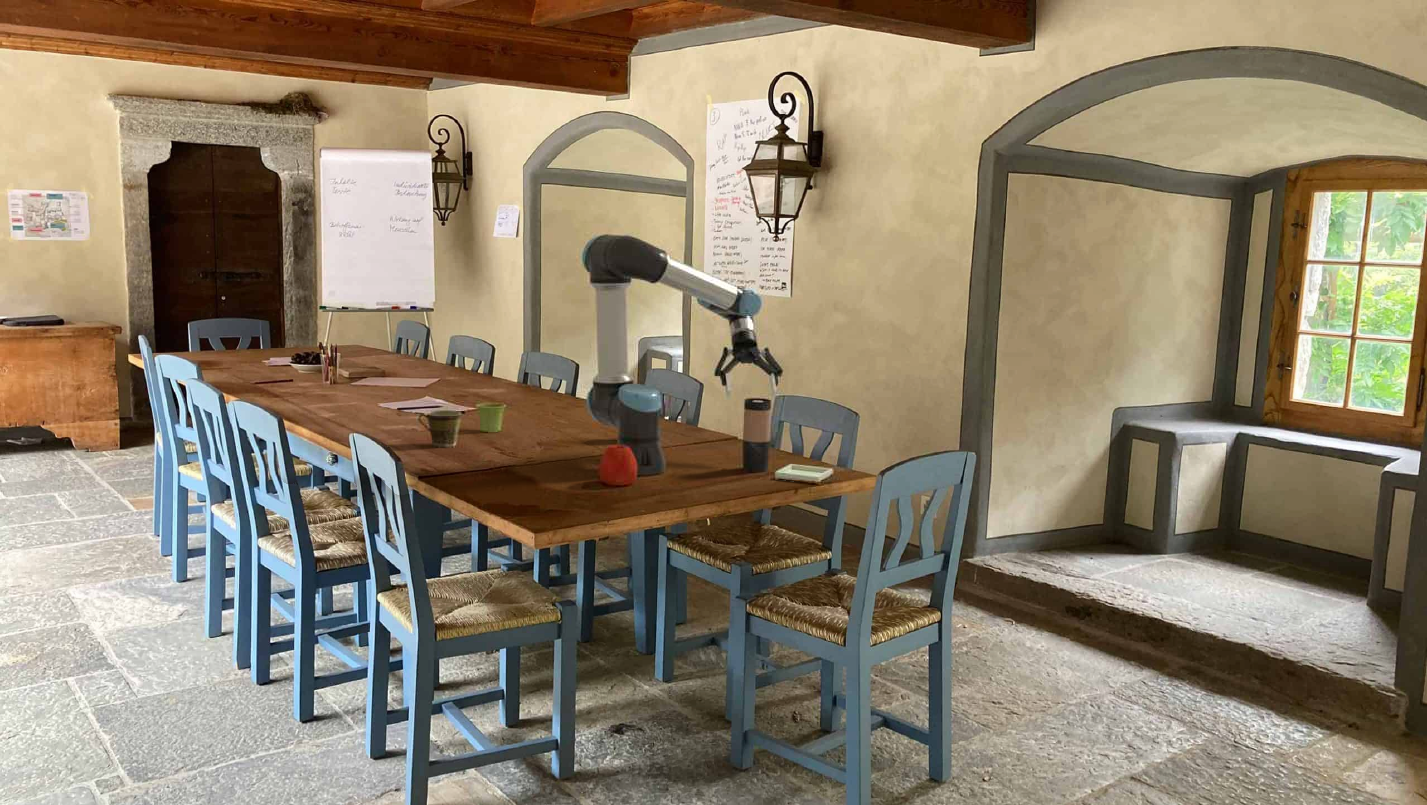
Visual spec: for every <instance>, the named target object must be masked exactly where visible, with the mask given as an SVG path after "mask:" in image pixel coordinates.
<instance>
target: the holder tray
mask: <svg viewBox="0 0 1427 805" xmlns="http://www.w3.org/2000/svg"><path fill="white" fill-rule="evenodd" d="M831 474H833V475H834V468H830V467H829V468H828V467H820V466H811V465H802V464H795V463H794V464H793V463H790V464H788V465H786V466H784V467H782V468H780V469H778V470H776V471H775V472H774V479H775V478H781V479H792V480H804V481H815V482H820V481H821V480H823V479H825V478H827V477H829V476H830V475H831Z"/></svg>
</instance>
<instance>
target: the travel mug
mask: <svg viewBox="0 0 1427 805" xmlns="http://www.w3.org/2000/svg"><path fill="white" fill-rule="evenodd" d="M743 405H744V406H743V428H742V430H743V431H742V439H743V440H742V470H743V469H744V470H743V471H745V470H747V471H746V472H748V471H752V472H751V473H762V472H761V471H765V472H767V471H766V470H768V471H769V461H770V459H769V458H770V446H771V445H770V444H771V422H772V421H771V420H772V419H771V415H772V414H771V413H772V400H771V399H769V398H761V397H755V398H754V397H751V398H750V397H749V398H745V399H744V403H743Z"/></svg>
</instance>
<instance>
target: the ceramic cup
mask: <svg viewBox="0 0 1427 805" xmlns="http://www.w3.org/2000/svg"><path fill="white" fill-rule="evenodd" d="M421 417H425V419H427V421H428V425H429V426H427V425H426V424H425V423H424V422H422V420H421ZM461 420H462V412H460V411H457V410H456V411H455V410H434V411H429V412H427V413H426V414H425V413H423V414H420V415H419V416H418V421H419V423H420V424H421V425H423V427H425V429H426V430H428V431H429V433H430V435H431V441H432V446H433V445H434V446H433V447H435V446H440V447H439V448H441V447H447V446H454V447H456V446H457V442H458V435H459V429H460V425H461V424H460V423H461ZM455 445H456V446H455ZM447 448H448V447H447Z"/></svg>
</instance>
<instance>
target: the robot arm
mask: <svg viewBox="0 0 1427 805" xmlns="http://www.w3.org/2000/svg"><path fill="white" fill-rule="evenodd" d="M581 259H582V264H583V265H582V266H583V267H584V269H585V270H586V272H588V273H589V284H590V285H591V286H592V287H593V288H594V290H595V307H596V308H595V310H596V311H595V312H596V314H595V315H596V320H595V321H596V352H597V356H596V358H597V374H596V375H595V376H594V377H593V378H592V387H591V388H590V390H589V391H588V393H587V395H586V401H585V402H586V403H585V404H586V407H587V408H586V409H587V410H588V414H590V416H591V417H592V418H593V419H594V420H596V421H597V422H599V423H601V424H603V425H606V426H612V427H615V428H617V429H618V430H617V444H616V445H626V446H627V447H629V448H630V449H631V451H632V452H633V454H634V457H635V459H636V462H637V467H638V468H637V476H653V475H658V474H662V473H665V472H666V465H667V464H666V460H665V457H664V452H663V450H662V446H661V442H660V441H661V408H662V402H661V401H662V398H661V393H660V391H659V390H658V389H657V388H655V387H653V386H651V385H647V384H646V385H644V384H641V383H634V377H633V376H632V375H631V374H629V365H628V364H629V362H628V361H629V360H628V356H629V355H628V321H627V320H628V318H627V316H628V315H627V312H628V311H627V289H628V287H630V285H631V284H632V279H633V280H638V281H640V280H641V281H644V282H647V283H649V284H657V283H659V284H662V285H665V286H667V287H669V288H671V289H674V290H676V291H679V292H681V293H684V294H686V295H688V296H691V297H694V298H696V302H697V304H698V305H700V306H701V307H703V308H704V309H706V310H708V311H710V312H712V313H714V314H716V315H718V316H719V317H721V318H723V319H725V320H727V322H728V326H729V329H730V332H729V333H730V338H731V346H732V349H729V348H728V347H727V346H725V347H723V351H722V355H721V357H720V359H719V361H718V363H717V365H716V367H715V369H714V374H713V375H714V377H719V378H720V381H721V386H722V387H725V393H726V394H725V395H726V398H728V397H730V395H731V385H730V376H729V373H730V372H731V371H732V370H733V369H734V368H735V367H736V366H737V365H738V364H739V363H740V364H748V365H749V364H750V365H751V364H754V365H755V366H757V367H759V368H760V369H761V370H762V371H764V373H766V374H767V375H768V376H769V383H770V389H771V394H772V395H771V396H772V397H773V398H776V395H777V391H778V390H777V387H778V385H779V378H782V376H783V372H784V370H783V368H782V366H780V364H779V363H778V362H777V361H776V360H775V358H774V357H773V355H772V354H771V352H770V349H769V348H768V347H764V349H759V347H758V341H757V340H758V339H757V336H756V335H757V333H756V328H755V321H754V316H756V315H757V314H758V313H759V312H760V311H761V310H762V309H761V308H762V304H763V302H762V297H761V295H760V294H759V293H758V292H757V291H754V290H751V289H744V288H741V287H740V286H736V285H734V284H733V283H730V282H728V281H725V280H723V279H721V278H719V277H715V276H714V275H711V274H709V273H707V272H704V271H702V270H700V269H697V268H695V267H693V266H690V265H688V264H687V263H684V262H681V261H679V260H678V259H675V258H672V257H670V256H669V254H668V252H667V251H666V250H664V249H661V248H658V247H657V246H655V245H653V244H651V243H649V242H647V241H645V240H642V239H640V238H638V237H635V236H632V235H625V234H624V235H620V234H619V235H618V234H601V235H596V236H594V237H592V238H591V239H590V240H589V241H588V242H587V243H586V244H585V246H584V248H583V251H582V254H581ZM730 356H732V357H733V358H732V359H731V360H730V361H729V362H728V363H727V364H726V366H725V367H724V364H725V363H726V361H727V358H729V357H730ZM763 358H764V359H763ZM723 367H724V368H723Z"/></svg>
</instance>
